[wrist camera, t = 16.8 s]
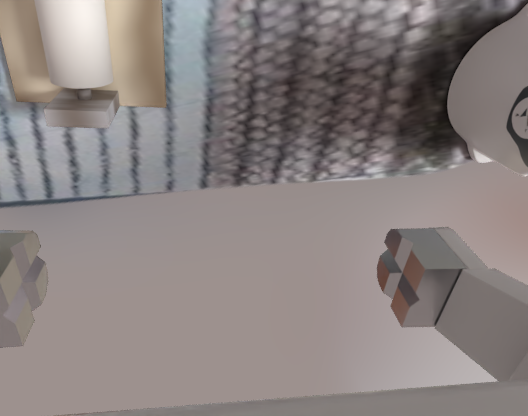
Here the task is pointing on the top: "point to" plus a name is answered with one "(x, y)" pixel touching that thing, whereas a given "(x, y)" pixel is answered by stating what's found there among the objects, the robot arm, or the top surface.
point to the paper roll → (75, 42)
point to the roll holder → (122, 58)
